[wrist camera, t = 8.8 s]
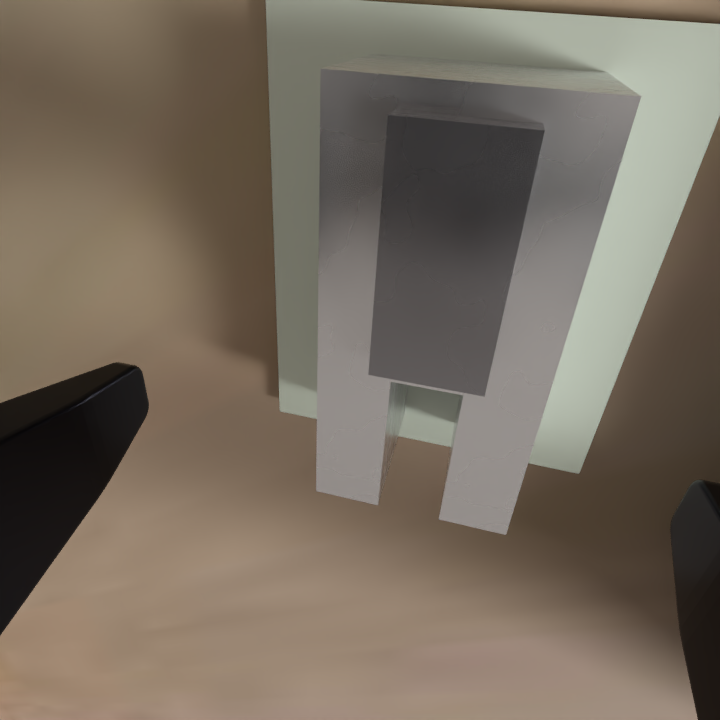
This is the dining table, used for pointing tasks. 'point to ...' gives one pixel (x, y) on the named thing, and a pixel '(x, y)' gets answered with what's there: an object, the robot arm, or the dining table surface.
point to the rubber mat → (623, 214)
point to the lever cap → (454, 259)
